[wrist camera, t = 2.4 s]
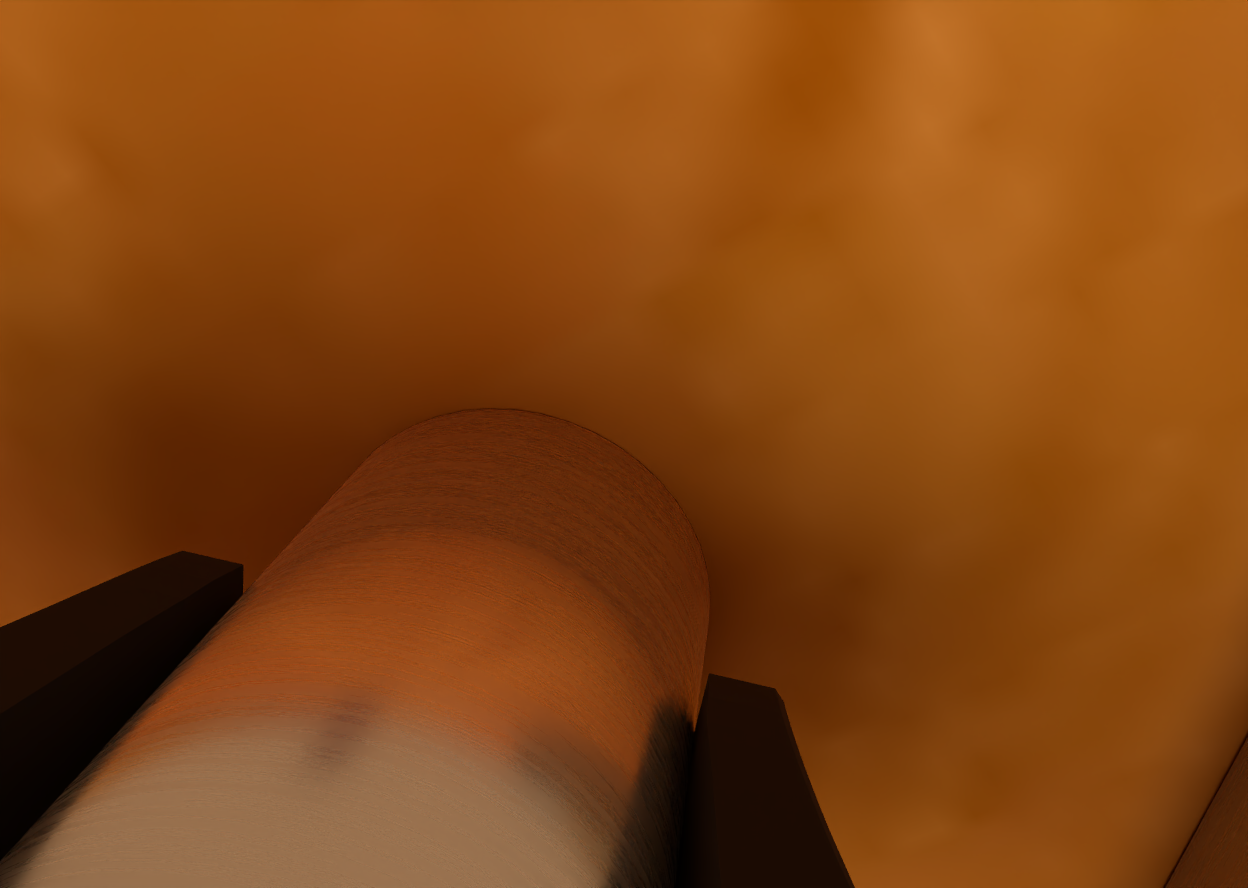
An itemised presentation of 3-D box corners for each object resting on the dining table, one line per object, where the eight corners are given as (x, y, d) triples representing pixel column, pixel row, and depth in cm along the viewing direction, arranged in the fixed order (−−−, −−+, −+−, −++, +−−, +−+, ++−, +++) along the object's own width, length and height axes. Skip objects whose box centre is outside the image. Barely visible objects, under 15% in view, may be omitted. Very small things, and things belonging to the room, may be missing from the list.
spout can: (669, 784, 12) (480, 2024, 5) (318, 700, 13) (-380, 1749, 5) (749, 459, 10) (648, 1647, 3) (337, 369, 11) (-714, 1241, 3)
